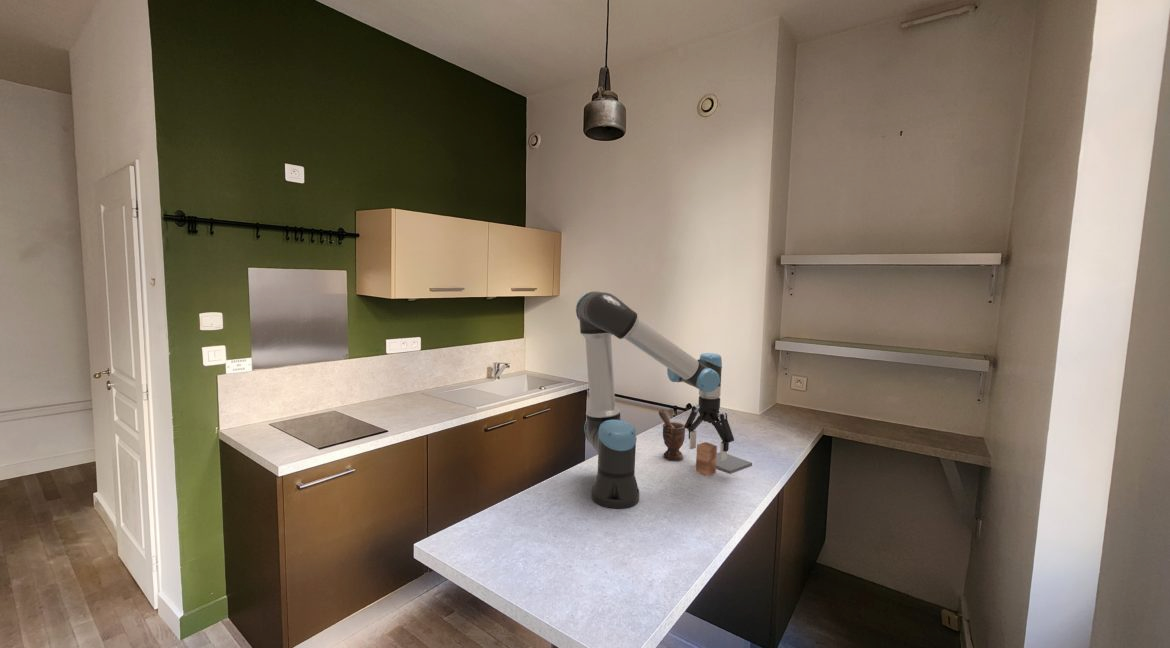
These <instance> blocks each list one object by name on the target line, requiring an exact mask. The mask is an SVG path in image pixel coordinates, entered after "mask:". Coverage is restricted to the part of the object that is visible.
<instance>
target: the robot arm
mask: <svg viewBox="0 0 1170 648" xmlns="http://www.w3.org/2000/svg"><path fill="white" fill-rule="evenodd" d="M575 313H576V317H577V319H578V321H579V331H580V335H581V336H583V338H584V339H585V351H586V353H585V354H586V365H587V366H586V367H587V368H586V369H587V383H588V392H589V393H588V394H589V396H588V397H589V408H588V409H587V410H586V411H585V416H586V420H585V423H584V427H583V429H584V430H583V431H584V435H585V439H586V440H587V442H588V443H589V444H590V445H591V446H592V447H593V449H595V451H596V452H597V457H598V458H597V474H596V476H595V481H594V483H593V485H592V487H591V495H590V497H591V499H592V501H593V502H594V503H596V504H598V505H599V506H602V507H604V508H605V507H606V508H612V509H626V508H630V507H633V506H635V505H636V504H638V503H639V501H640V490H639V486H638V483H637V479H636V475H635V473H636V472H635V471H636V469H635V467H636V453H637V452H636V449H637V431H636V428H635V427H634V426H633V425H632V424H631V423H630V422H628V421H624V420H622V419H621V410H620V409H619V408H618V407H617V406H616V398H615V397H616V394H615V381H614V367H613V365H614V363H613V350H612V349H613V347H612V336H615V337H616V338H617V339H619V340H622V339H624V340H626V341H628V342H629V343H630V344H631V345H632V346H634V347H637V349H639V350H641V351H642V352H644V353H645V354H646V355H648V356H650V357H651V358H652V359H654V360H656V361H657V362H658V363H660V364H661V365H662V366H664V367H665V368H667V369H666V371H667V372H666V373H667V376H668V377H667V378H668V379H669V381H670V382H672V383H685V384H687V385H689V386H692V387H693V388H696V389H697V390H698V395H699V396H698V404H697V405H693V406H692V407H691V412H690V414H689V416H688V417H687V419H686V422H685V423H684V425H685V426H684V427H685V429H686V430H687V431H688V440H689V450H694V449H697V430H696V429H697V428H698V426H700V424H701V423H702V422H704V423H705V422H706V423H709V424H711V425H712V426H713V427H714V429H715V430H716V431H717V434H718V436H719V438H720V439H721V441H720V444H719V445H720V446H719V447H720V449H719V452H720V460H721V461H722V460H725V459H726V456H727V454H728V453H727V452H728V451H729V449H730V448H729V446H730V445H729V444H730V443H732V442H734V441H735V438H734V435H733V432H732V429H731V426H730V423H729V421H728V413H726V412H723V413H721V412H720V408H721V398H720V397H721V391H722V390H721V389H722V386H721V385H722V368H723V366H722V365H723V363H722V356H721V355H720V354H718V353H711V352H706V353H701V354H700V356H699V359H696V358H695V357H693V356H692V355H690V354H689V353H687V351H685V350H683V349H682V348H680V347H679V346H678V345H677V344H675V343H674V342H672V341H671V340H669V339H668V338H667V337H665V336H664V335H662V334H661V333H660V332H658V331H657V330H655V329H654V328H653V327H651V326H650V325H648V323H645V321H643V320H642V319H640V318H639V314H638V313H637V312H636V311H634V310H633V309H632V308H630V307H629V305H627V304H625V303H624V302H623V301H622V300H620V299H619V298H618V297H616V296H615V295H613V294H611V293H609V292H604V291H603V292H602V291H589V292H586V293H585V294H583V295H582V296H580V298H578V300H577V302H576V306H575ZM698 413H699V415H698ZM697 415H698V417H697Z"/></svg>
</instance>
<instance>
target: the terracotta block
mask: <svg viewBox="0 0 1170 648" xmlns="http://www.w3.org/2000/svg"><path fill="white" fill-rule="evenodd" d="M717 453H718V446H717V445H715V444H713V443H710V442H708V441H707V442H706V441H705V442H702V443H696V459H695V472H697V473H700V474H702V475H704V476H706V477H707V476H710V475H713V474H716V471H717V470H716V469H717V468H716V456H717Z"/></svg>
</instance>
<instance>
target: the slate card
mask: <svg viewBox="0 0 1170 648" xmlns="http://www.w3.org/2000/svg"><path fill="white" fill-rule="evenodd" d="M752 466H753V462H750V461H747V460H745V459H742V458H740V457H737V456H734V455H732V454H729V453H727V456H726V459H725V460H722V461H721V460H720V451H718V452H717V456H716V469H717V470H719V471H721V472H724V473H727V474H733V473H735V472H738V471H740V470H744V469H746V468H749V467H752Z"/></svg>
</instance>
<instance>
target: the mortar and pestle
mask: <svg viewBox="0 0 1170 648" xmlns="http://www.w3.org/2000/svg"><path fill="white" fill-rule="evenodd" d="M658 415H659V418H660V419H661V420H662V421H663V424H662V439H663V443H664V445H665V447H666V448H667V450H666V451H665V452H664V453H663V458H665V459H666V460H668V461H681V460H683V458H684V454H683V453H682V452H681V451H680V449H681V448H682V446H683V445H684V442H685V437H686V428H685V427H684V426H685V423H682V422H676V421H671V420H670V418H669V416H668V413H667V411H666V410H665V409H659V410H658Z"/></svg>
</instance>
